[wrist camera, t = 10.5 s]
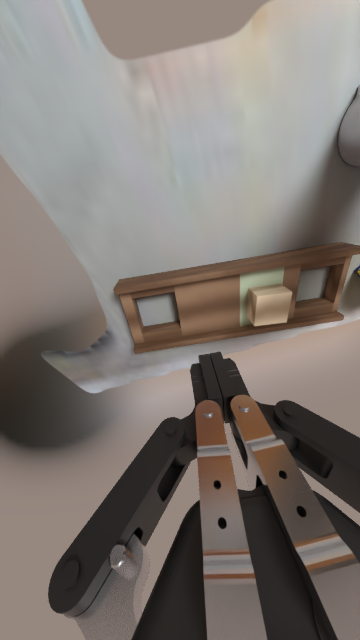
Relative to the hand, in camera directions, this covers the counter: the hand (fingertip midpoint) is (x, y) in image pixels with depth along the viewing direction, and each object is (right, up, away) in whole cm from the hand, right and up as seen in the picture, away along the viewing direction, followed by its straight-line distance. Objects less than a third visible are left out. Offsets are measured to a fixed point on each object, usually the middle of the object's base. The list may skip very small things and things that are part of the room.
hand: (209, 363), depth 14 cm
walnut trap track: (+8, +8, +27) cm, 30 cm away
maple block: (+14, +7, +25) cm, 29 cm away
